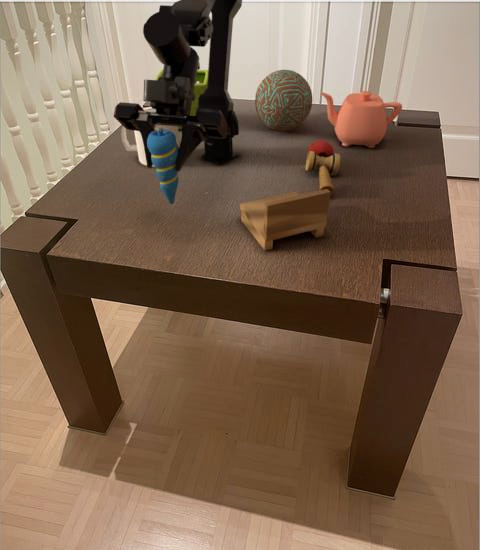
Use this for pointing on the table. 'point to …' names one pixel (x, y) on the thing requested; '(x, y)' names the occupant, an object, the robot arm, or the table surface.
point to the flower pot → (195, 88)
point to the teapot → (361, 118)
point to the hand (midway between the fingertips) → (163, 169)
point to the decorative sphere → (283, 100)
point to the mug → (139, 141)
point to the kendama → (323, 163)
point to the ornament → (164, 160)
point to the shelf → (286, 216)
